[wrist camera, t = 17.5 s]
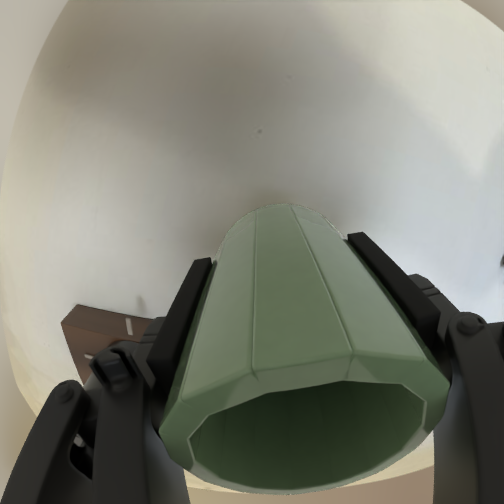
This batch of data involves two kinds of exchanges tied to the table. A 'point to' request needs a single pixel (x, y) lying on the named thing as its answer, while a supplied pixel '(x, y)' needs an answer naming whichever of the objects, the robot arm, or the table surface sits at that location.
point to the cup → (297, 364)
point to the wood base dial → (97, 333)
